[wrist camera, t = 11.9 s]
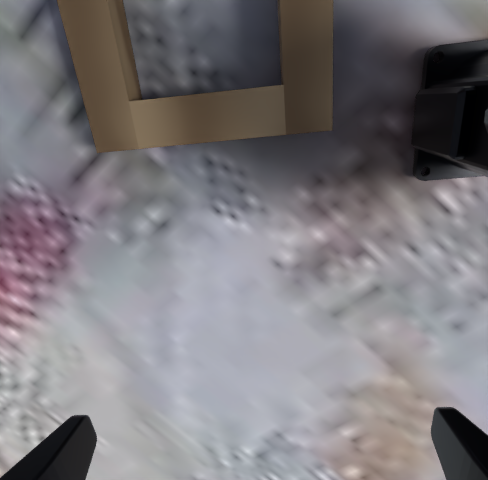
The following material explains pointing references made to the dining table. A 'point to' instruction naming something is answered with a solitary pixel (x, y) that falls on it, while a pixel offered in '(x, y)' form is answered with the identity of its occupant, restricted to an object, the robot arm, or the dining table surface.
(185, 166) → the dining table surface
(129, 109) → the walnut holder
